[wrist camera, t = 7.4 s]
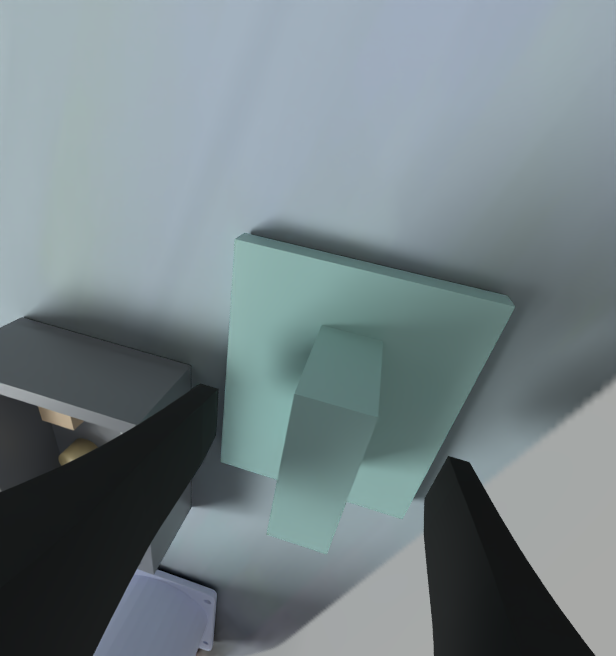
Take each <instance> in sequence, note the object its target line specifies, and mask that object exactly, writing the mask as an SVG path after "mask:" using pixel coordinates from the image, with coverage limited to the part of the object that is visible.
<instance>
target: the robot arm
mask: <svg viewBox="0 0 616 656" xmlns="http://www.w3.org/2000/svg"><path fill="white" fill-rule="evenodd" d="M217 407H218V389H217V388H213V387H210V386H206V385H203V384H199V385H197V386H196V387H194V388H193V389H191V390H190V391H188V392H187V393H185V394H184V395H183V396H181V397H180V398H178V399H177V400H175V401H174V402H172V403H171V404H169V405H168V406H166V407H165V408H163V409H162V410H160V411H158V412H157V413H155V414H154V415H152V416H151V417H149V418H147V419H146V420H144V421H143V422H141V423H140V424H138V425H136V426H135V427H133V428H131V429H130V430H128V431H126V432H124V433H123V434H121V435H119V436H117V437H116V438H114V439H112V440H111V441H109V442H107V443H105V444H103V445H102V446H100V447H98V448H96V449H94V450H92V451H90V452H88V453H86V454H85V455H83V456H80V457H78V458H76V459H74V460H72V461H70V462H68V463H66V464H64V465H62V466H60V467H58V468H55V469H53V470H51V471H49V472H47V473H44V474H42V475H40V476H37V477H35V478H33V479H30V480H28V481H26V482H24V483H21V484H19V485H17V486H14V487H12V488H9V489H7V490H4V491H1V492H0V656H195V655H196V653H197V650H198V648H201V649H204V650H207V651H210V650H211V649H212V646H213V639H214V627H215V614H216V602H217V593H216V592H215V591H214V590H213V589H211V588H208V587H205V586H202V585H199V584H197V583H194V582H191V581H188V580H186V579H183V578H180V577H177V576H174V575H172V574H169V573H166V572H163V571H160V570H158V569H157V570H156V572H155V574H154V575H153V574H150V573H147V572H144V571H142V570H139V569H137V568H138V566H139V564H140V562H141V561H142V559H143V557H144V555H145V553H146V551H147V549H148V547H149V546H150V544H151V542H152V541H153V539H154V537H155V536H156V534H157V532H158V531H159V529H160V527H161V526H162V524H163V523H164V521H165V520H166V518H167V517H168V515H169V514H170V512H171V510H172V509H173V507H174V506H175V504H176V503H177V501H178V500H179V498H180V497H181V495H182V494H183V492H184V490H185V489H186V487H187V486H188V484H189V483H190V481H191V480H192V478H193V476H194V475H195V473H196V472H197V470H198V469H199V467H200V465H201V464H202V462H203V460H204V458H205V456H206V454H207V452H208V450H209V448H210V446H211V444H212V442H213V440H214V438H215V436H216V426H217ZM424 542H425V553H426V564H427V574H428V584H429V594H430V604H431V614H432V624H433V641H434V656H595V655H594V653H593V652H592V651H591V649H590V648H589V647H588V646H587V644H586V643H585V642H584V640H583V639H582V638H581V636H580V635H579V634H578V632H577V631H576V630H575V628H574V627H573V625H572V624H571V623H570V621H569V620H568V619H567V617H566V616H565V615H564V613H563V612H562V611H561V609H560V608H559V607H558V605H557V604H556V602H555V601H554V599H553V598H552V596H551V595H550V594H549V592H548V591H547V589H546V588H545V586H544V585H543V584H542V582H541V580H540V579H539V577H538V576H537V574H536V573H535V571H534V570H533V568H532V567H531V565H530V564H529V562H528V561H527V559H526V558H525V556H524V554H523V553H522V551H521V550H520V548H519V547H518V545H517V543H516V542H515V540H514V539H513V537H512V535H511V533H510V532H509V530H508V528H507V527H506V525H505V523H504V522H503V520H502V518H501V517H500V515H499V513H498V512H497V510H496V508H495V507H494V505H493V503H492V501H491V499H490V498H489V496H488V494H487V492H486V491H485V489H484V487H483V485H482V483H481V482H480V480H479V478H478V476H477V475H476V473H475V471H474V469H473V468H472V466H471V464H470V462H467V461H463V460H460V459H457V458H453V457H450V456H448V457H447V459H446V461H445V463H444V465H443V466H442V468H441V470H440V472H439V474H438V475H437V477H436V479H435V481H434V482H433V484H432V486H431V488H430V490H429V491H428V493H427V495H426V497H425V502H424Z"/></svg>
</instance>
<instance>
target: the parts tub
mask: <svg viewBox="0 0 616 656" xmlns="http://www.w3.org/2000/svg"><path fill="white" fill-rule="evenodd" d="M190 390H191V366H190V365H187V364H183V363H180V362H176V361H173V360H169V359H166V358H162V357H159V356H155V355H152V354H149V353H145V352H142V351H138V350H135V349H131V348H128V347H124V346H121V345H117V344H114V343H110V342H107V341H103V340H100V339H96V338H93V337H89V336H86V335H82V334H79V333H75V332H72V331H68V330H65V329H61V328H58V327H54V326H51V325H47V324H44V323H40V322H37V321H33V320H30V319H26V318H23V317H22V318H19V319H17V320H15V321H13V322H11V323H9V324H7V325H5V326H3V327H1V328H0V492H1V491H4V490H7V489H9V488H12V487H14V486H17V485H19V484H21V483H24V482H26V481H28V480H30V479H33V478H35V477H37V476H40V475H42V474H44V473H47V472H49V471H51V470H53V469H55V468H58V467H60V466H62V465H64V464H66V463H68V462H70V461H72V460H74V459H76V458H78V457H80V456H83V455H85V454H86V453H88V452H90V451H92V450H94V449H96V448H98V447H100V446H102V445H103V444H105V443H107V442H109V441H111V440H112V439H114V438H116V437H117V436H119V435H121V434H123V433H124V432H126V431H128V430H130V429H131V428H133V427H135V426H136V425H138V424H140V423H141V422H143V421H144V420H146V419H147V418H149V417H151V416H152V415H154V414H155V413H157V412H158V411H160V410H162V409H163V408H165V407H166V406H168V405H169V404H171V403H172V402H174V401H175V400H177V399H178V398H180V397H181V396H183V395H184V394H185V393H187V392H188V391H190ZM190 509H191V481H190V483H189V484H188V486H187V487H186V489H185V490H184V492H183V494H182V495H181V497H180V498H179V500H178V501H177V503H176V504H175V506H174V507H173V509H172V510H171V512H170V514H169V515H168V517H167V518H166V520H165V521H164V523H163V524H162V526H161V527H160V529H159V531H158V532H157V534H156V536H155V537H154V539H153V541H152V542H151V544H150V546H149V547H148V549H147V551H146V553H145V555H144V557H143V559H142V561H141V562H140V564H139V566H138V568H137V569H139V570H142V571H144V572H147V573H150V574H153V575H154V574H155V572H156V570H157V568H158V566H159V565H160V563H161V561H162V559H163V557H164V556H165V554H166V552H167V550H168V548H169V547H170V545H171V543H172V541H173V539H174V538H175V536H176V534H177V532H178V530H179V529H180V527H181V525H182V523H183V521H184V520H185V518H186V516H187V514H188V512H189V511H190Z"/></svg>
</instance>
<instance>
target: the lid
mask: <svg viewBox="0 0 616 656" xmlns="http://www.w3.org/2000/svg"><path fill="white" fill-rule="evenodd" d="M514 309H515V306H514V304H513V303H512V301H511V300H510V299H509V297H508V296H507V295H503V294H499V293H494V292H490V291H486V290H482V289H478V288H474V287H469V286H465V285H461V284H457V283H453V282H448V281H444V280H440V279H436V278H432V277H427V276H423V275H419V274H415V273H411V272H407V271H402V270H398V269H394V268H390V267H386V266H381V265H377V264H373V263H369V262H365V261H360V260H356V259H352V258H348V257H344V256H340V255H335V254H331V253H327V252H323V251H319V250H314V249H310V248H306V247H302V246H298V245H293V244H289V243H285V242H281V241H277V240H273V239H268V238H264V237H260V236H256V235H252V234H247V233H244V234H242V235H241V236H239V237H237V238H236V239H235V244H234V259H233V275H232V290H231V306H230V321H229V337H228V352H227V368H226V383H225V398H224V414H223V429H222V445H221V460H220V462H222V463H225V464H228V465H231V466H235V467H238V468H241V469H244V470H247V471H250V472H254V473H257V474H260V475H263V476H266V477H269V478H273V479H276V480H277V483H276V488H275V494H274V499H273V504H272V509H271V514H270V519H269V524H268V529H267V534H266V535H269V536H272V537H275V538H278V539H281V540H285V541H288V542H291V543H294V544H297V545H300V546H303V547H306V548H309V549H312V550H315V551H318V552H321V553H324V554H327V552H328V550H329V547H330V544H331V542H332V539H333V537H334V534H335V531H336V529H337V526H338V523H339V521H340V518H341V515H342V513H343V510H344V507H345V505H346V502H349V503H352V504H355V505H359V506H362V507H365V508H368V509H371V510H374V511H378V512H381V513H384V514H387V515H390V516H394V517H397V518H400V519H403V517H404V515H405V513H406V511H407V509H408V508H409V506H410V504H411V502H412V500H413V498H414V496H415V494H416V493H417V491H418V489H419V487H420V485H421V483H422V481H423V479H424V477H425V476H426V474H427V472H428V470H429V468H430V466H431V464H432V462H433V461H434V459H435V457H436V455H437V453H438V451H439V449H440V447H441V446H442V444H443V442H444V440H445V438H446V436H447V434H448V432H449V431H450V429H451V427H452V425H453V423H454V421H455V419H456V417H457V416H458V414H459V412H460V410H461V408H462V406H463V404H464V402H465V401H466V399H467V397H468V395H469V393H470V391H471V389H472V387H473V386H474V384H475V382H476V380H477V378H478V376H479V374H480V372H481V370H482V369H483V367H484V365H485V363H486V361H487V359H488V357H489V355H490V354H491V352H492V350H493V348H494V346H495V344H496V342H497V340H498V339H499V337H500V335H501V333H502V331H503V329H504V327H505V325H506V324H507V322H508V320H509V318H510V316H511V314H512V312H513V310H514Z"/></svg>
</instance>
